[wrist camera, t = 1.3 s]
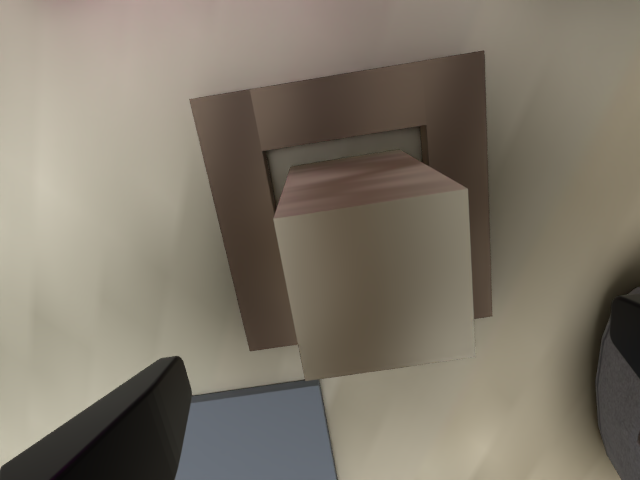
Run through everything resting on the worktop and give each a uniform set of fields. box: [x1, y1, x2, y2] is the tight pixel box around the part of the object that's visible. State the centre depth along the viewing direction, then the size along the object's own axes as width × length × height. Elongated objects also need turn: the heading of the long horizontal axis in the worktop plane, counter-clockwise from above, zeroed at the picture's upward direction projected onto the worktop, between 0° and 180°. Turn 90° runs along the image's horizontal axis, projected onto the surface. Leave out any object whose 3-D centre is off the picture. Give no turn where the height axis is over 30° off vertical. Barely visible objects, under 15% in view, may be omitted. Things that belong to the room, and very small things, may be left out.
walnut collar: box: [189, 51, 492, 351], centre depth 20 cm, size 12×12×1 cm
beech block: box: [273, 149, 476, 381], centre depth 16 cm, size 5×5×9 cm
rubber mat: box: [175, 379, 337, 480], centre depth 24 cm, size 10×10×1 cm
